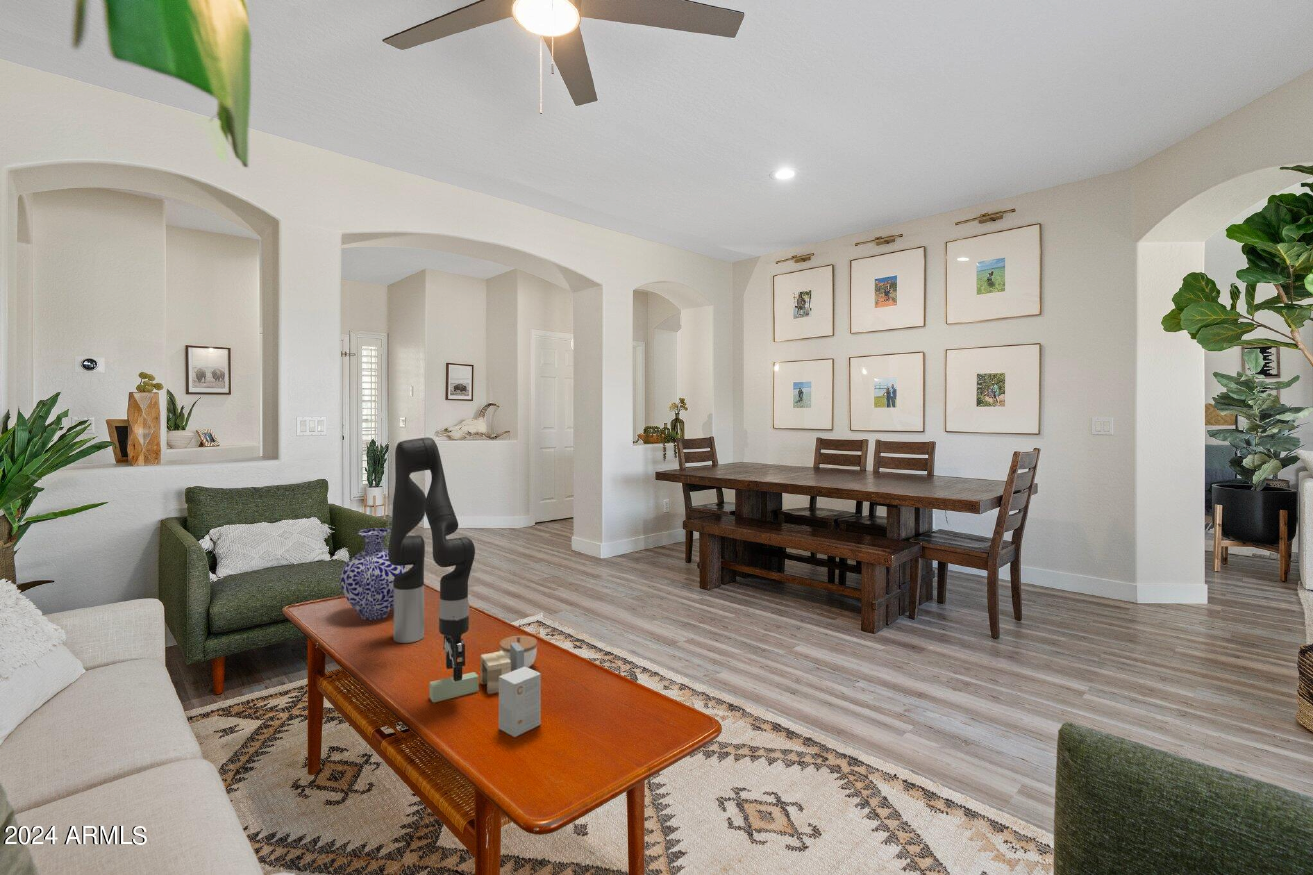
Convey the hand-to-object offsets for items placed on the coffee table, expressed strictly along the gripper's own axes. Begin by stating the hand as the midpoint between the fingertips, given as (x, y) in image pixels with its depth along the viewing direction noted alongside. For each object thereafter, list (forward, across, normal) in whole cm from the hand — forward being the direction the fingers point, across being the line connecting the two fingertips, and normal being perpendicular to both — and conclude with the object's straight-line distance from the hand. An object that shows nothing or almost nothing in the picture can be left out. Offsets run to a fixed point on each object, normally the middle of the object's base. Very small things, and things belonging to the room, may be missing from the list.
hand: (454, 674), depth 174 cm
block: (+6, 0, +11) cm, 13 cm away
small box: (+6, +24, +10) cm, 26 cm away
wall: (+6, 0, +17) cm, 18 cm away
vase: (+5, -73, -11) cm, 74 cm away
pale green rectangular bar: (+6, 0, 0) cm, 6 cm away
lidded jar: (+6, -9, +20) cm, 23 cm away
